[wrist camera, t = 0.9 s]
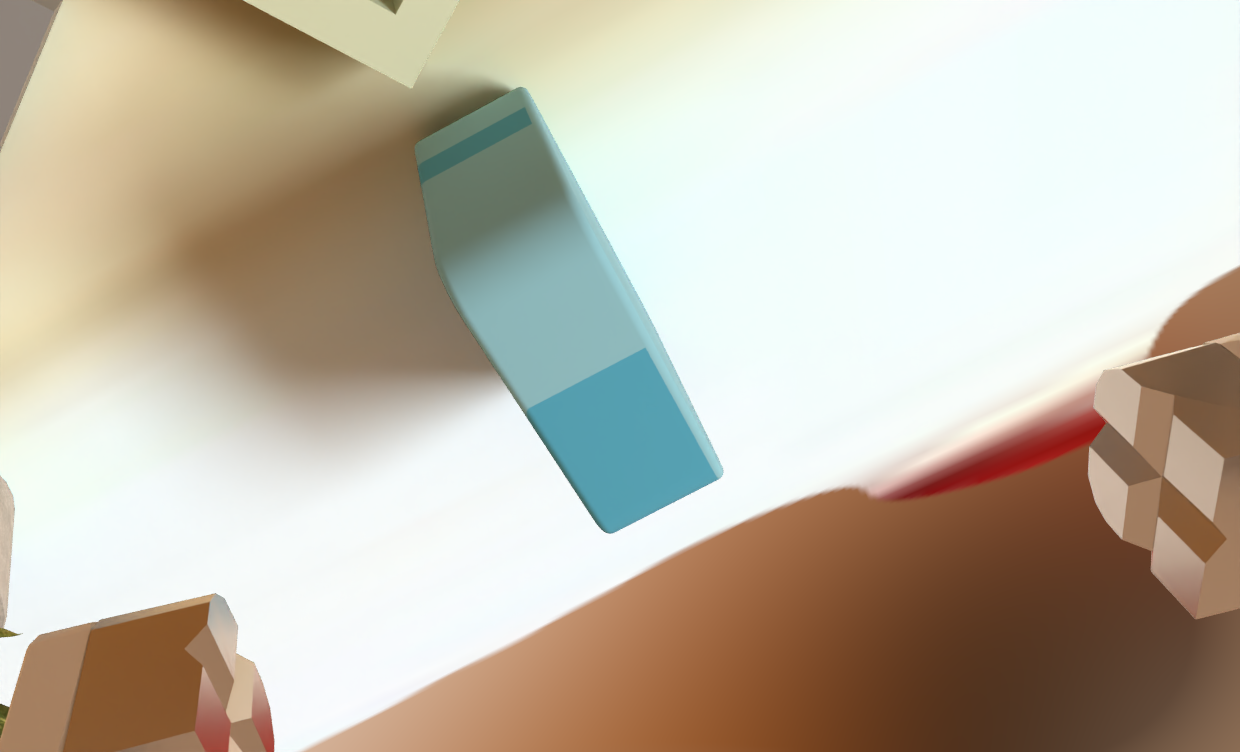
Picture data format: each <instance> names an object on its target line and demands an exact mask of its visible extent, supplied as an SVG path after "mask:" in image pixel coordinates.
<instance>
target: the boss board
mask: <svg viewBox="0 0 1240 752" xmlns="http://www.w3.org/2000/svg"><path fill="white" fill-rule="evenodd" d="M61 3H62V0H0V151H1V149H2V146H3V144H4V141H5V139H6V137H7V134H8V132H9V129H10V127H11V124H12V122H13V120H14V117H15V115H16V112H17V110H18V107H19V105H20V103H21V100H22V98H23V95H24V93H25V90H26V88H27V86H28V83H29V81H30V78H31V76H32V73H33V71H34V68H35V66H36V64H37V61H38V59H39V56H40V54H41V51H42V49H43V47H44V44H45V42H46V39H47V37H48V34H49V32H50V30H51V27H52V25H53V22H54V20H55V17H56V15H57V13H58V10H59V8H60V5H61Z"/></svg>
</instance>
